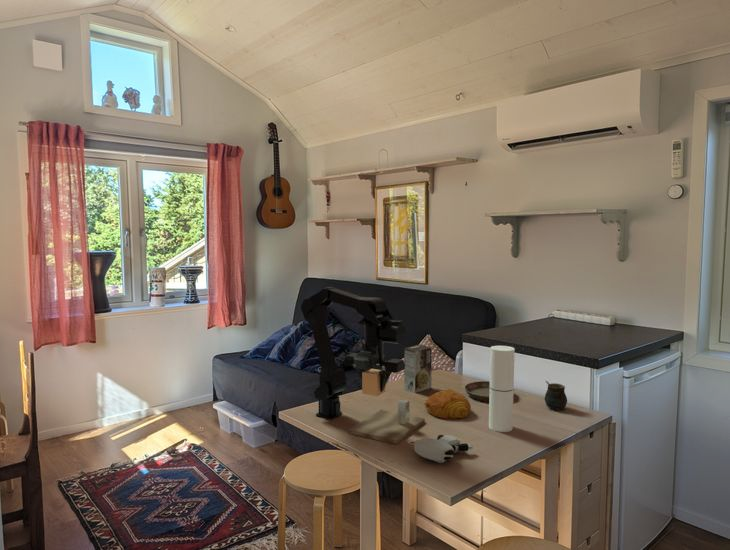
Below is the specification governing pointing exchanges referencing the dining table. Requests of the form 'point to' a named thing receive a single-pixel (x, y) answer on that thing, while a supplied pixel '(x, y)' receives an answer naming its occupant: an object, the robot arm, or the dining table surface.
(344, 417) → the dining table surface
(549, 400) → the mate gourd
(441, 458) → the robot toy
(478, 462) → the dining table surface
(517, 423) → the dining table surface
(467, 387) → the plant saucer
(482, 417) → the dining table surface
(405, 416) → the post
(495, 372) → the cylindrical container
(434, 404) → the croissant
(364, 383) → the orange rectangular block
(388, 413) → the base board
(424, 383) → the coffee box
